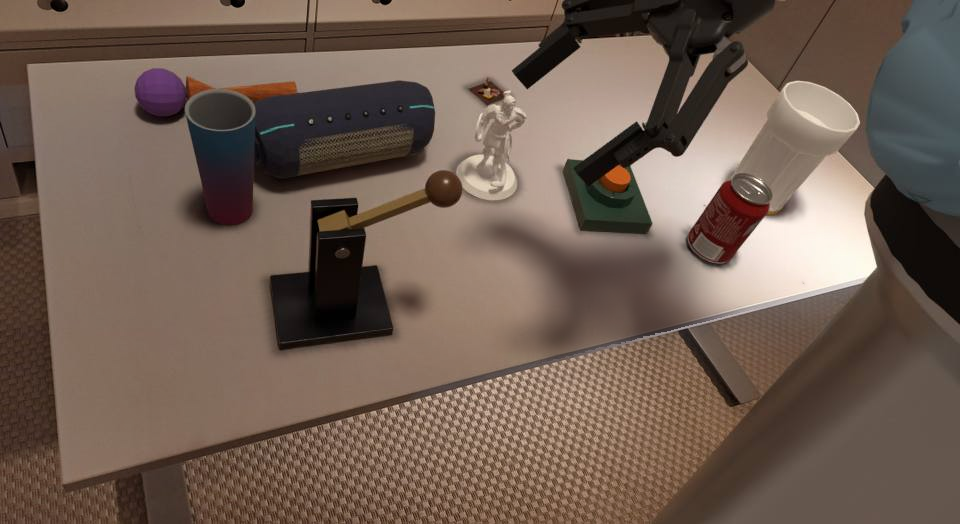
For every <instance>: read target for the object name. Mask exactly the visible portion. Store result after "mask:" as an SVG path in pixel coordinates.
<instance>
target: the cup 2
mask: <svg viewBox="0 0 960 524" xmlns="http://www.w3.org/2000/svg"><path fill="white" fill-rule="evenodd" d="M766 117H767V119H766V121H765V123H764V124H763V125H762V128H761V129H760V130H759V132H758V133H757V135H756V136H755V138H754V140H753V142H752V143H751V145H750V146H749V148H748V149H747V151H746V152H745V154H744V156H743V157H742V159H741V161H740V162H739V164H738V165H737V167H735V170H734V172H732V174H731V176H730V177H729V179H728V180H730V179H732V178H733V177H734V176H735V175H736V174H739V173H747V174H751V175H754V176H756V177H758V178H760V179H761V180H763V181H764V182H765V183H766V184H767V185H768V186H769V187H770V189H771V191H772V195H773V197H772V200H771V201H770V209H769V211H768V213H767V214H766V215H769V216H772V215H775V214H778V213H780V211H781V210H782V209H783V208H784V206H786V203H787V202H789V200H790V198H792V196H793V195H795V193H796V192H797V191H798V189H799V188H800V187H801V186H802V185H803V184H804V182H806V180H807V179H808V178H809V177H810V176H811V174H812V173H813V172H814V171H815V170H816V169H817V168H818V166H819V165H820V164H821V163H822V162H823V161H824V160H825V158H826V157H828V156H831V155H833V154H836V153H837V152H838V151H839V150H840V149H841V148H842V147H843V146H844V144H845V143H846V142H847V141H848V140H849V139H850V138H851V137H852V135H853V134H855V132H856V131H857V129H858V128H859V126H860V124H861V121H860V118H859V113H857V111H856V110H855V109H854V107H853V106H852V104H851V103H849V102H848V101H847V100H846V99H845V98H844V97H842V96H841V95H840V94H839V93H837V92H834V91H833V90H831V89H829V88H827V87H826V86H823V85H821V84H817V83H814V82H811V81H806V80H805V81H803V80H794V81H790V82H787V83H786V84H785V85H784V86H783V87H782V89H781V90H780V92H779V93H778V95H777V96H776V98H775V99H774V101H773V102H772V105H771V106H770V107H769V110H768V111H767V113H766Z"/></svg>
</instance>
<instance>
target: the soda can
mask: <svg viewBox="0 0 960 524" xmlns="http://www.w3.org/2000/svg"><path fill="white" fill-rule="evenodd" d="M729 179H730V178H729ZM729 179H727V180H725V181H723V182H722V183H721V185H720V187H718V189H717V191H716V192H715V194H714V195H713V196H712V198H711V200H710V201H709V202H708V204H707V205H706V207H705V208H704V210H703V211H702V213H701V214H700V216H699V217H698V219H697V220H696V222H695V223H694V225H693V226H692V228H691V229H690V230H689V232H688V234H687V241H688V245H689V247H690V248H691V250H692V251H693V252H694V253H695V254H696V255H697V256H699V258H701V259H703V260H705V261H707V262H709V263H712V264H725V263H728V262H730V261H731V260H732V258H733V257H734V256H735V255H736V254H737V252H738V251H739V249H740V248H741V247H742V246H743V245H744V244H745V242H746V241H747V240H748V238H749V237H750V236H751V234H753V232H754V231H755V229H756V228H757V227H758V226H759V225H760V223H761V222H762V221H763V220H764V218H765V217H766V215H767V213H768V211H769V209H770V201H771V200H772V197H773V195H772V191H771V189H770V187H769V186H768V185H767V184H766V183H765V182H764V181H763V180H761V179H760V178H758V177H756V176H754V175H751V174H747V173H739V174H736V175H735V176H734V177H733V178H732V179H730V180H729Z"/></svg>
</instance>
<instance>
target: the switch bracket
mask: <svg viewBox="0 0 960 524" xmlns="http://www.w3.org/2000/svg"><path fill="white" fill-rule="evenodd" d="M342 210H345V212H346V213H347V215H348V216H349V218H350V217H352V216H355V215H357V214H359V213H358V212H359V201H358V198H357V197H344V198H343V197H341V198H327V199H326V198H325V199H311V200H310V212H309V213H310V215H309V242H308V243H309V244H308V245H309V246H308V271H304V272H303V271H302V272H291V273H282V274H272V275H270V276H269V282H270V289H271V296H272V297H271V298H272V304H273V305H272V306H273V311H274V318H275V319H274V320H275V326H276V333H277V341H278V348H279V350H286V349H287V350H288V349H294V348H301V347H309V346H317V345H324V344H331V343H339V342H345V341H354V340H361V339H362V340H363V339H369V338H375V337H376V338H377V337H384V336H391V335H393V333H394V325H393V322H392V321H393V320H392V318H391V313H390V309H389V305H388V302H387V298H386V294H385V290H384V286H383V283H382V279H381V274H380V270H379V267H378V265H377V264H376V265H365V266H364V265H363V264H364V257H365V249H366V243H367V242H366V241H367V232H366V229H365V228H358V229H345V230H331V231H319V226H318V220H319V219H322V218H324V217H327V216H329V215H332V214H335V213H337V212H340V211H342Z"/></svg>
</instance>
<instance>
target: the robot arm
mask: <svg viewBox="0 0 960 524" xmlns="http://www.w3.org/2000/svg"><path fill="white" fill-rule="evenodd" d="M776 1H778V2H785V1H786V0H563V1H562V3H561V8H562V9H563V14H564V19H563V22H562V23H561V24H560V25H559V26H558V27H557V28H555V29H554V30H553V31H552V32H550V33H549V34H548V35H547V36H546V37H544V38H542V40H540V42H539V44H538V45H537V46H538V48H537V49H536V50H535V51H533V52H532V53H531V54H529V56H527V57H526V58H525V59H524V60H522V61H521V62H520V63H518V64H517V65H516V66H515V67H514V68H513V69H511V72H512V73H513V75H514V77H515V78H516V79H517V80H518V81H519V82H520V83H521V84H522V86H523V87H524V88H525V89H526V90H529V89H530V88H531V87H532V86H534V85H535V84H536V83H538V82H539V81H540V80H541V79H543V78H544V77H545V76H546V75H548V74H549V73H550V72H551V71H553V70H554V69H555V68H557V67H558V66H559V65H560V64H561V63H563V62H564V61H565V60H566V59H568V58H569V57H570V56H571V55H573V54H574V53H575V52H576V51H578V50H579V49H580V48H581V45H580V44H582V43H583V39H590V38H597V37H606V36H613V35H621V34H629V33H635V32H640V33H641V34H645V35H646V34H650V36H651V37H652V39H653V40H654V41H655V43H656V44H658V45H660V46H661V47H662V48H663V51H664V53H665V54H666V55H667V57H668V63H667V66H666V68H665V71H664V73H663V76H662V79H661V82H660V85H659V88H658V90H657V93H656V96H655V99H654V102H653V104H652V106H651V110H650V112H649V115H648V118H647V121H646V122H642V123H641V125H640V123H639V122H638V121H637V120H636V121H635V122H633V123H632V124H630V126H628V127H627V128H625V129H624V130H622V131H621V132H620V133H619V134H617V135H616V136H614V137H613V138H612V139H610V140H609V141H608V142H606V143H605V144H603V145H602V146H601V147H599V148H598V149H596V150H595V151H594V152H592V153H591V154H590V155H589V156H587V157H586V158H585V159H582V160H583V161H582V162H580V163H579V164H578V165H576V166H575V167H574V168H573V169H574V170H575V172H576V173H577V175H578V176H579V177H580V178H581V179H582V180H583V181H584V182H585V183H586V184H587V185H588V186H590V185H592V184H593V183H594V182H596V181H597V180H599V179H600V178H601V177H603V176H604V175H605V174H607V173H608V172H610V171H611V170H612V169H614V168H615V167H617V166H618V165H619V164H620V165H621V166H622V167H623V168H626V167H629V166H631V167H632V165H634V164H635V163H636V162H638V161H639V160H641V159H642V158H643V157H644V156H646V155H647V154H649V153H650V152H652V151H653V150H655V149H658V148H659V149H662V150H665V151H666V152H668V153H670V154H671V156H673V157H675V158H678V157H679V158H680V157H681V156H683V155H684V154H685V152H686V151H687V150H688V148H689V146H690V145H691V143H692V141H693V140H694V138H695V137H696V135H697V134H698V132H699V130H700V129H701V127H702V126H703V124H704V123H705V121H706V119H707V118H708V117H709V115H710V113H711V111H712V110H713V108H714V107H715V105H716V104H717V102H718V101H719V99H720V97H721V95H722V94H723V93H724V91H725V89H726V88H727V86H728V85H729V83H731V81H732V80H734V79H735V78H736V77H737V76H738V75H739V74H741V73H742V72H743V71H744V70H746V69H747V67H748V65H749V60H748V57H747V54H746V51H745V48H744V45H743V43H742V42H741V41H737V40H736V41H732V40H731V38H732V36H733V35H736V34H737V35H739V34H742V33H744V32H745V31H747V30H748V29H749V28H751V27H752V26H753V25H755V24H756V23H758V22H759V21H760V20H761V19H763V18H764V17H765V16H767V15H768V14H770V13H771V12H772V11H773V10H774V9H775V5H776ZM900 27H901V31H902V33H903V34H902V36H901V38H899V40H897V42H896V43H895V44H894V45H893V46H892V48H890V49H889V50H888V51H887V52H886V54H885V55H884V57H883V58H882V60H881V63H880V65H879V67H878V69H877V71H876V75H875V80H874V81H873V84H872V86H871V88H870V93H869V97H868V105H867V109H866V114H865V135H866V139H867V145H868V149H869V153H870V156H871V158H872V159H873V161H874V162H875V164H876V166H877V167H878V168H879V170H880V171H881V172H882V173H883V174H884V175H883V177H882V179H881V180H879V182H878V183H877V184H876V186H875V187H874V188H873V189H872V191H871V192H870V194H869V195H868V197H867V199H866V200H865V203H864V211H863V212H864V213H863V215H864V216H863V217H864V220H865V225H866V230H867V233H868V237H869V241H870V245H871V249H872V253H873V257H874V262H875V264H876V267H875V269H874V270H873V271H872V272H871V273H870V274H869V275H868V276H867V278H866V279H865V280H864V281H863V282H862V283H861V284H860V285H859V286H858V288H857V289H856V290H855V291H854V292H853V293H852V294H851V295H850V297H849V298H848V299H847V300H846V301H845V302H844V304H842V305H841V306H840V307H839V309H838V310H837V311H836V312H835V313H834V315H832V317H831V318H830V319H829V320H828V321H827V322H826V324H824V326H823V327H822V328H821V329H820V331H819V332H818V333H817V334H816V335H815V336H814V337H813V338H812V340H811V341H810V342H809V343H808V344H807V345H806V346H805V347H804V348H803V349H802V351H801V352H799V354H798V355H797V357H796V358H795V359H794V360H793V361H792V362H791V363H790V364H789V366H787V368H786V369H784V371H783V373H781V374H780V375H779V377H778V378H777V379H776V380H775V381H774V383H772V385H771V386H770V387H769V388H768V389H767V390H766V392H765V393H764V394H763V395H762V396H761V397H760V398H759V400H757V402H756V403H755V404H754V405H753V406H752V407H751V408H750V409H749V410H748V412H747V413H746V414H745V415H744V416H743V417H742V418H741V420H740V421H739V422H738V423H737V424H736V425H735V426H734V427H733V429H731V431H730V432H728V434H727V435H726V437H724V438H723V440H722V441H721V442H720V443H719V444H718V446H716V448H715V449H714V450H713V451H712V452H711V453H710V455H708V457H707V458H706V459H705V460H704V461H703V462H702V463H701V465H699V467H698V468H697V469H696V470H695V471H694V472H693V474H692V475H691V476H690V477H689V478H688V479H687V480H686V481H685V483H684V484H683V485H682V486H681V487H680V488H679V489H678V491H677V492H675V494H674V495H673V496H672V497H671V499H670V500H669V501H668V502H667V503H666V504H665V505H664V507H662V509H661V510H660V511H659V512H658V513H657V514H656V515H655V517H654V518H653V519H652V520H651V521H650V522H649V523H648V524H960V0H913V1H912V2H911V4H910V6H909V8H908V9H907V11H906V12H905V14H904V16H903V18H902V19H901V21H900ZM708 54H713V55H712V60H711V61H710V62H709V63H708V65H707V66H706V67H705V69H704V70H703V72H702V73H701V75H700V77H699V78H698V80H697V82H696V83H695V84H694V86H693V88H692V89H691V91H690V93H689V94H688V96H687V97H686V99H685V101H684V102H683V104H682V105H681V103H682V101H683V98H684V96H685V93H686V90H687V87H688V84H689V81H690V78H692V77H693V76H694V74H695V72H696V69H697V67H698V63H699V61H700V58H701V56H704V55H708ZM680 106H681V107H680Z"/></svg>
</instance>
